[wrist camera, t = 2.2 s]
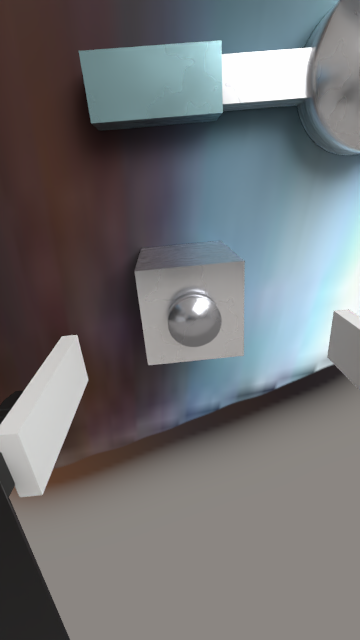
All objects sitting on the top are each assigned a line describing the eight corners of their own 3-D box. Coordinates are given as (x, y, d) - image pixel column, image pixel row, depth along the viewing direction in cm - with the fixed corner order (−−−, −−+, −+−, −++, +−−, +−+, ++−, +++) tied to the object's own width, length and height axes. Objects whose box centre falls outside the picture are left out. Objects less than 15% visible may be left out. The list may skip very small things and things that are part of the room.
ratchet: (106, 176, 21) (81, 171, 15) (79, 8, 18) (28, -104, 11) (410, 150, 22) (524, 133, 15) (445, -17, 18) (617, -140, 11)
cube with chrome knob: (150, 321, 26) (147, 374, 19) (141, 248, 24) (133, 276, 16) (222, 313, 26) (247, 363, 19) (220, 240, 24) (249, 265, 16)
